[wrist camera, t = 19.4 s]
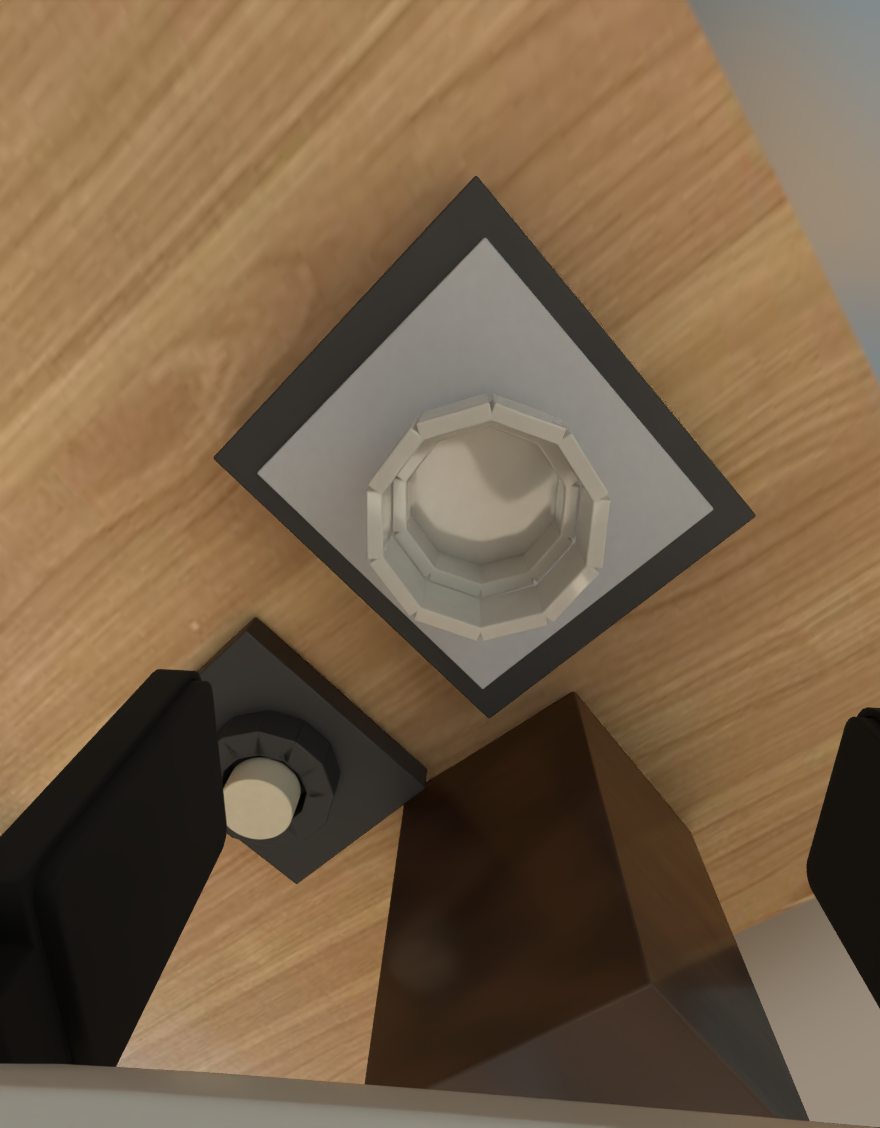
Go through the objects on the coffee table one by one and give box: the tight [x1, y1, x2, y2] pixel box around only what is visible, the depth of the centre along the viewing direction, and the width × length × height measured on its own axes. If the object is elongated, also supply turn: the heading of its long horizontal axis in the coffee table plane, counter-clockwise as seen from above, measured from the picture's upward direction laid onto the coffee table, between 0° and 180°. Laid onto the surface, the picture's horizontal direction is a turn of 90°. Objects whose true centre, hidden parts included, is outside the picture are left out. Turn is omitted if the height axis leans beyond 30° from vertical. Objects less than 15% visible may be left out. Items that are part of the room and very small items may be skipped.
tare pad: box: [197, 618, 427, 884], centre depth 31 cm, size 11×9×3 cm
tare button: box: [223, 757, 301, 839], centre depth 29 cm, size 3×3×2 cm
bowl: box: [366, 394, 611, 641], centre depth 21 cm, size 7×7×4 cm
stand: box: [365, 692, 809, 1121], centre depth 26 cm, size 10×10×14 cm
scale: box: [214, 176, 755, 718], centre depth 25 cm, size 15×13×3 cm
